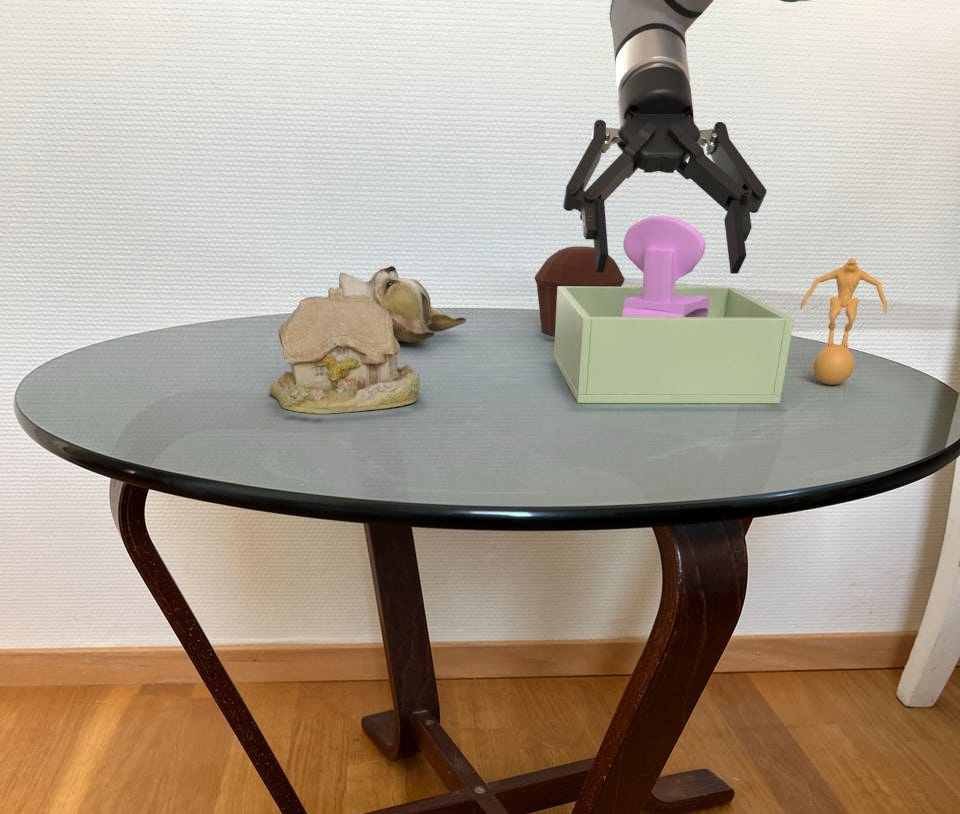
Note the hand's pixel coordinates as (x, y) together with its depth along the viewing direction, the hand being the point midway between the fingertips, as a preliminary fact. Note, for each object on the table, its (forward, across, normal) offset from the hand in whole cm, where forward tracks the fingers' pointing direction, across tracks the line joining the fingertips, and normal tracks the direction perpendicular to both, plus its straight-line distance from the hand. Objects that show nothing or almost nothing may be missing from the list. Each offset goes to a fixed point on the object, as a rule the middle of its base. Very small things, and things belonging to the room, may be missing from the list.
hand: (670, 264), depth 92 cm
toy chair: (+8, 0, -7) cm, 11 cm away
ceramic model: (+14, +32, -3) cm, 35 cm away
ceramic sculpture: (-6, +28, -22) cm, 36 cm away
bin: (+8, 0, -8) cm, 11 cm away
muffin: (-10, +5, -27) cm, 29 cm away
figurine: (+9, -18, -8) cm, 21 cm away
